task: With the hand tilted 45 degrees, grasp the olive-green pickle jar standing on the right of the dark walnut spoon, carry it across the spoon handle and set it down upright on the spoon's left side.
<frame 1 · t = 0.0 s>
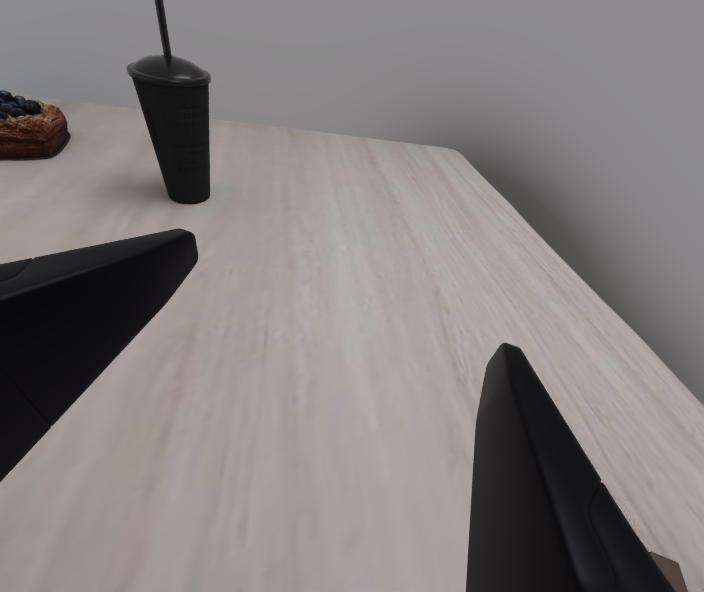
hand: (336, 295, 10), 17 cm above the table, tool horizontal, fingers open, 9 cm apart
drinking cup: (190, 196, 44), on the table
pastry: (20, 144, 47), on the table
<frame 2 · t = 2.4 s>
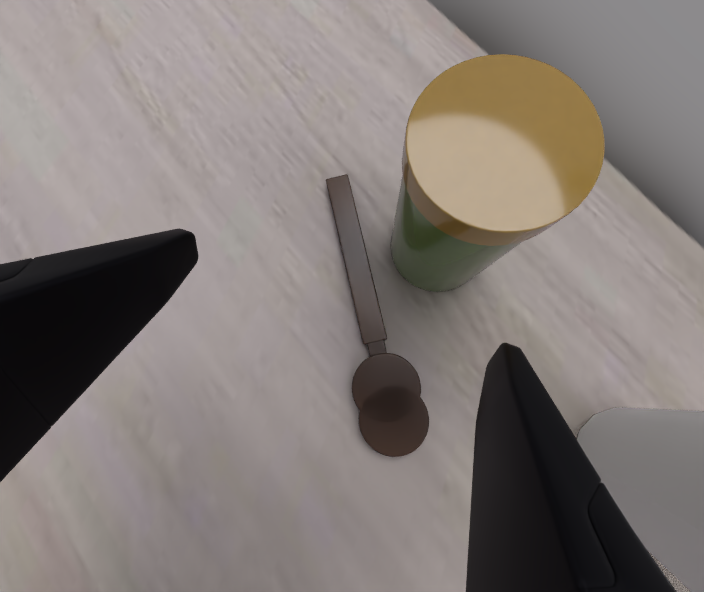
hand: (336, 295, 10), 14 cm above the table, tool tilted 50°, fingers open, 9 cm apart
pickle jar: (436, 246, 24), on the table
spoon: (365, 299, 24), on the table
foam cup: (624, 459, 22), on the table
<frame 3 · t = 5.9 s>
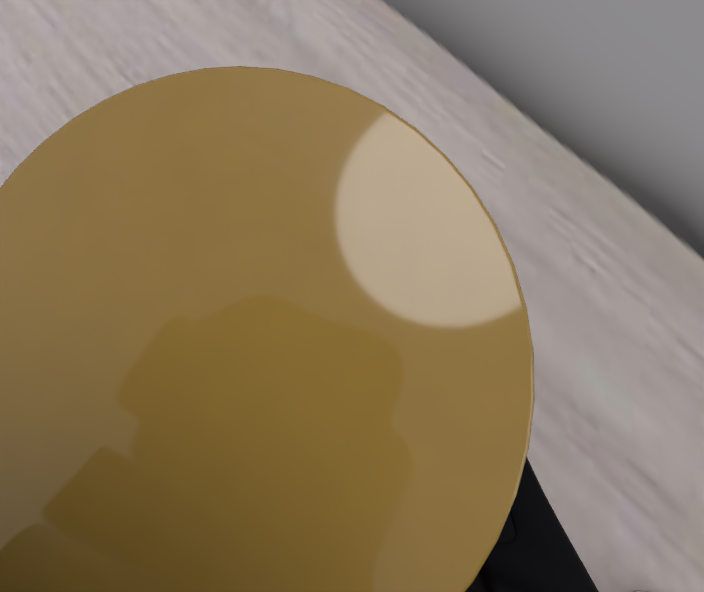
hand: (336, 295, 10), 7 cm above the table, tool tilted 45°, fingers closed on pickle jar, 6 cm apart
pickle jar: (348, 337, 16), on the table, touching gripper
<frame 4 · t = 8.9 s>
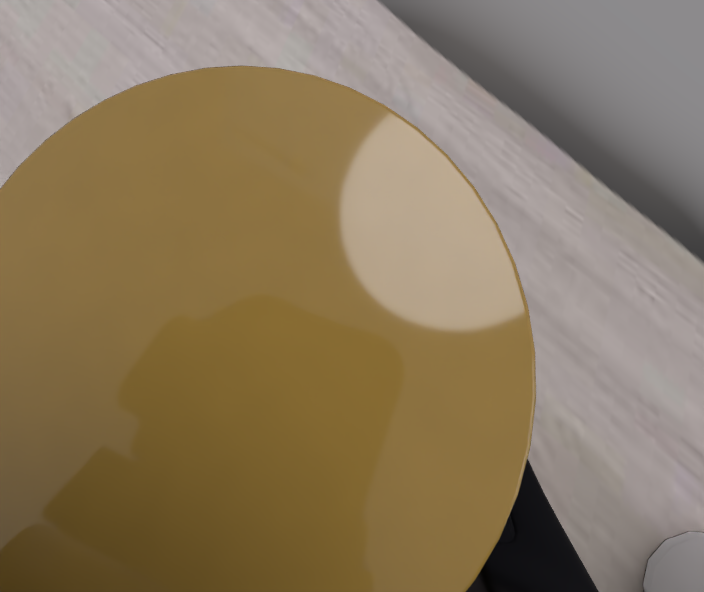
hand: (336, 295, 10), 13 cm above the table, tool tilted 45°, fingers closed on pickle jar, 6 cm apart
pickle jar: (348, 337, 16), point 6 cm above the table, touching gripper
foam cup: (703, 590, 19), on the table
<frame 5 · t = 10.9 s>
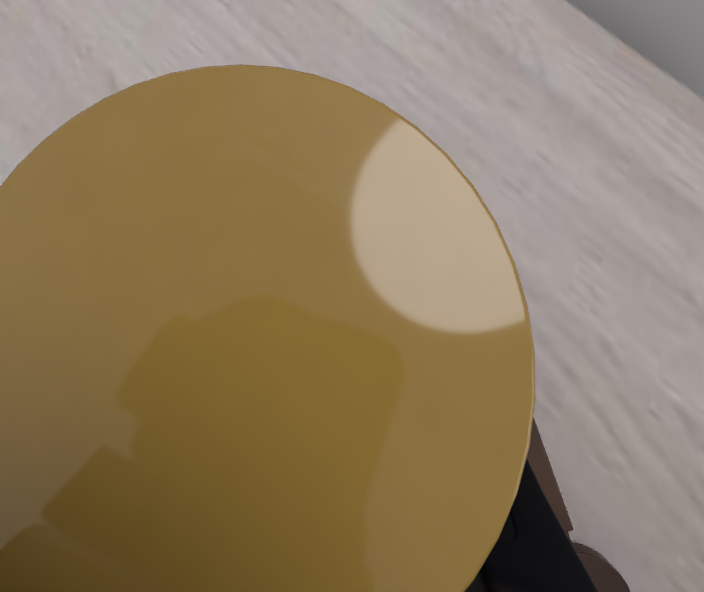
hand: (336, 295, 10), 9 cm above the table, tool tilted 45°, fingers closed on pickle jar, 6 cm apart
pickle jar: (348, 337, 16), point 3 cm above the table, touching gripper
spoon: (527, 462, 17), on the table
when the fingers open (7 cm above the table, at t = 12.2 s): pickle jar stays where it is, on the table.
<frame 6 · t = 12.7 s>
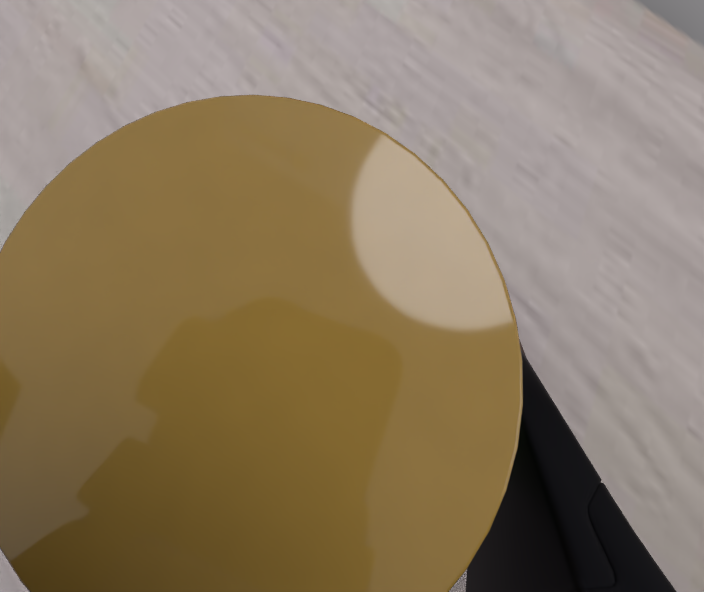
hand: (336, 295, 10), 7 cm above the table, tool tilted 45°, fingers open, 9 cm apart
pickle jar: (349, 340, 16), on the table
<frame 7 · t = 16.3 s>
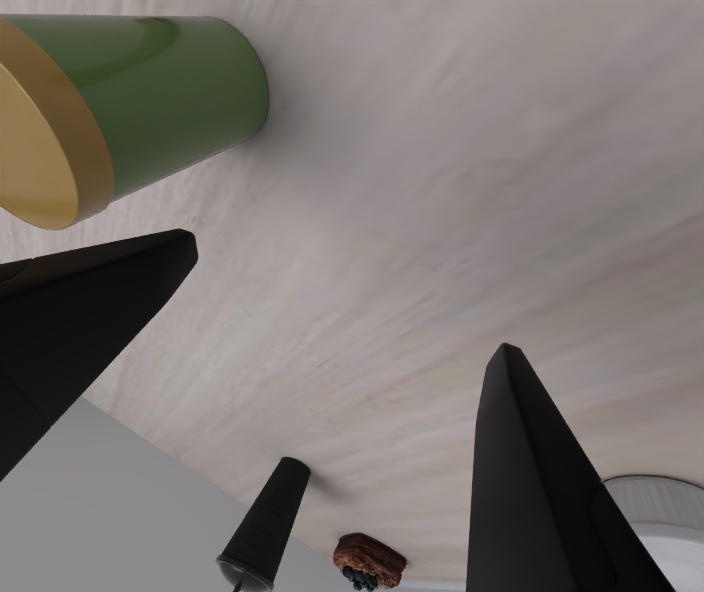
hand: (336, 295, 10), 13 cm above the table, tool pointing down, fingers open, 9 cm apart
pickle jar: (221, 85, 21), on the table
drinking cup: (296, 465, 51), on the table
ramekin: (653, 501, 30), on the table
pastry: (371, 548, 62), on the table
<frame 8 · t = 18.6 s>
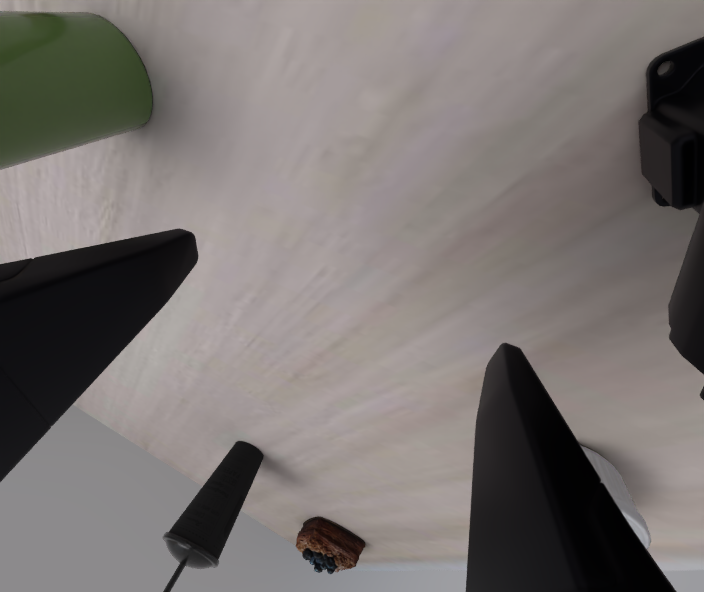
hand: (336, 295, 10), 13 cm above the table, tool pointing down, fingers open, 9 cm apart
pickle jar: (109, 76, 22), on the table
drinking cup: (250, 449, 53), on the table
ramekin: (554, 464, 31), on the table
pastry: (332, 532, 64), on the table
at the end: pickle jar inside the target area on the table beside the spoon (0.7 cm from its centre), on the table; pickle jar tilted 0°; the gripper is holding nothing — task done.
